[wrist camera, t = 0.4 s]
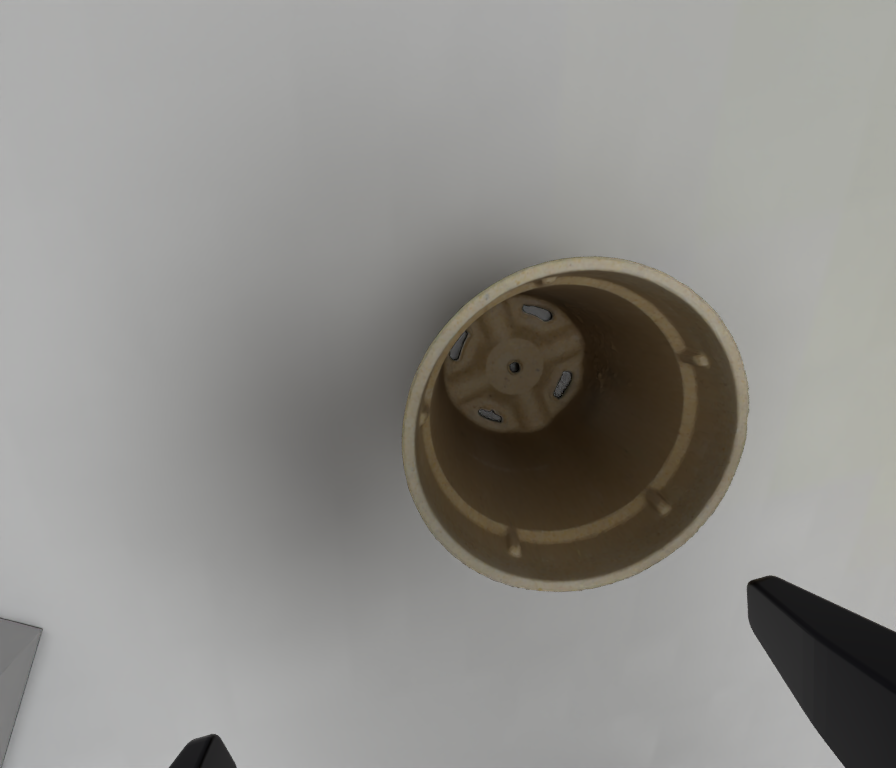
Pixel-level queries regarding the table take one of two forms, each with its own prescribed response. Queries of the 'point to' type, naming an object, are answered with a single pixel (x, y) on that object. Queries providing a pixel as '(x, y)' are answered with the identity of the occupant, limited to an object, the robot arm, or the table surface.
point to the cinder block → (14, 672)
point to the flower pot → (575, 424)
